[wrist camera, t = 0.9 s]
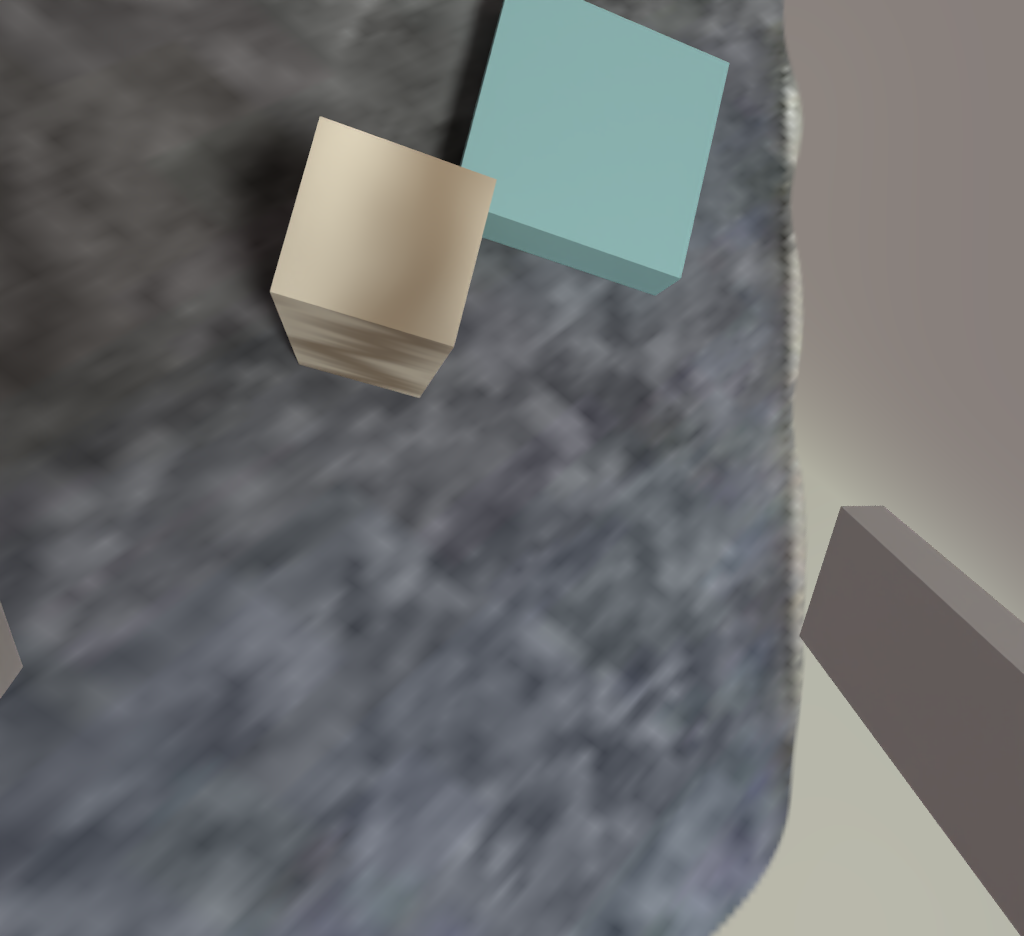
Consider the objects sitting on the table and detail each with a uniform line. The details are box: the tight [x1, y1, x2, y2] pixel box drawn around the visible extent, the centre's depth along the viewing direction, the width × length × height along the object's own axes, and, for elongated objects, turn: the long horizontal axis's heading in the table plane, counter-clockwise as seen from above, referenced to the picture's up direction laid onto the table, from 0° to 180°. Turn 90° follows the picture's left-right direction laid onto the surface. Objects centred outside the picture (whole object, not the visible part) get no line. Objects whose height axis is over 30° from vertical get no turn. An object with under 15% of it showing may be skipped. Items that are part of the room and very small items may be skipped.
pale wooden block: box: [270, 116, 497, 398], centre depth 28 cm, size 6×6×12 cm
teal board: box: [460, 0, 729, 295], centre depth 35 cm, size 12×12×3 cm
